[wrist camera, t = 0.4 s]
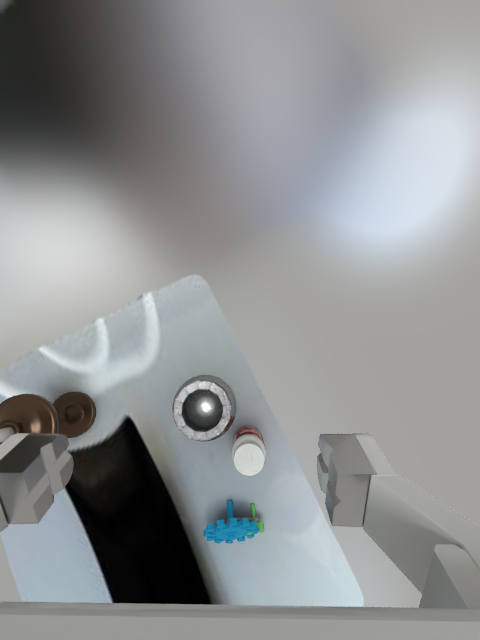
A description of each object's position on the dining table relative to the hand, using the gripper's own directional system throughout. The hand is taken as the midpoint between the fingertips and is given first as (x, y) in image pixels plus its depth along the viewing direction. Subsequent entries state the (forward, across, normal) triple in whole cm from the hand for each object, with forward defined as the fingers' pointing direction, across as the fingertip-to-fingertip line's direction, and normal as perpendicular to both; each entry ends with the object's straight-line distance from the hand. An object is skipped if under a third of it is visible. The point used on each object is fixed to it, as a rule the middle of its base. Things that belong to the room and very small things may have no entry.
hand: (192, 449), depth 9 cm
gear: (+34, -1, -47) cm, 58 cm away
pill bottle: (+40, +2, -34) cm, 53 cm away
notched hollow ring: (+43, -7, -28) cm, 52 cm away
